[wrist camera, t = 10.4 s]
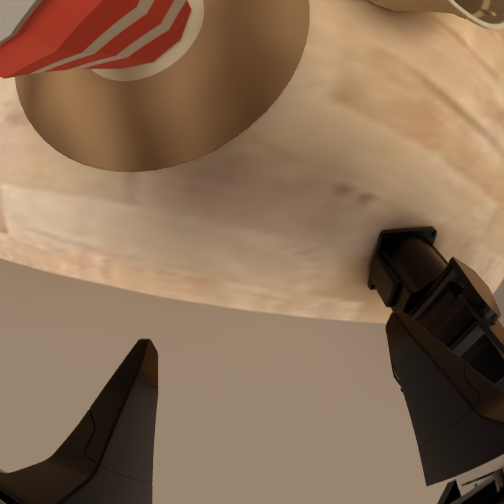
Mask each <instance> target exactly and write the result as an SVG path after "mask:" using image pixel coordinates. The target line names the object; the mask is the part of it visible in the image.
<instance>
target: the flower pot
mask: <svg viewBox="0 0 504 504" xmlns="http://www.w3.org/2000/svg"><path fill="white" fill-rule="evenodd" d="M369 1H370V2H372V3H374V4H375V5H377V6H380V7H384V8H387V9H390V10H394V11H429V12H442V13H451V14H455V15H457V16H459V17H462V18H464V19H468V20H470V21H471V22H473V23H475V24H477V25H479V26H481V27H484V28H487V29H492V30H501V29H504V0H369Z"/></svg>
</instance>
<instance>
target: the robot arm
mask: <svg viewBox="0 0 504 504" xmlns="http://www.w3.org/2000/svg"><path fill="white" fill-rule="evenodd" d="M436 234H437V231H436V230H435V229H434V228H433V227H428V228H414V229H399V230H386V231H383V232H382V233H381V234H380V237H379V241H378V246H377V250H376V254H375V256H374V259H373V263H372V267H371V271H370V275H369V281H368V287H369V289H370V290H374V289H377V291H378V293H379V295H380V297H381V298H382V300H383V302H384V304H385V306H386V307H391V309H392V311H393V312H392V313H391V315H390V317H389V320H388V322H387V324H386V333H387V339H388V346H389V352H390V358H391V365H392V371H393V375H394V378H395V379H396V380H397V382H398V383H399V385H400V386H401V391H402V392H403V394H404V397H405V400H406V403H407V407H408V410H409V413H410V417H411V421H412V425H413V428H414V432H415V436H416V440H417V444H418V447H419V448H418V449H419V453H420V457H421V462H422V466H423V471H424V476H425V481H426V485H427V486H429V485H432V484H435V483H438V482H441V481H444V480H447V479H450V478H453V477H456V478H455V479H454V480H452V481H450V482H449V483H447V486H446V488H445V490H444V492H443V494H442V496H441V498H440V499H439V502H438V504H504V327H503V326H502V325H501V323H500V322H499V320H498V319H499V318H500V317H501V313H500V311H499V308H498V306H497V304H496V302H495V300H494V297H493V295H492V293H491V291H490V289H489V287H488V286H487V285H486V284H485V282H484V281H483V280H482V279H481V278H480V277H479V276H478V274H477V273H476V272H475V271H474V270H472V269H471V268H469V267H468V266H467V265H465V264H464V263H462V262H461V261H459V260H458V259H456V258H455V257H452V258H451V259H450V261H449V263H448V262H447V261H446V260H445V258H444V257H443V256H442V255H441V254H440V253H439V251H438V250H437V249H436V248H435V247H434V246H433V243H434V240H435V237H436ZM385 236H386V237H385ZM384 237H385V238H384ZM157 400H158V353H157V350H156V348H155V346H154V345H153V343H152V341H151V340H150V339H139V340H138V341H137V343H136V344H135V345H134V347H133V348H132V350H131V351H130V352H129V354H128V355H127V356H126V358H125V359H124V361H123V362H122V363H121V365H120V366H119V367H118V369H117V370H116V371H115V373H114V374H113V376H112V377H111V378H110V380H109V381H108V383H107V384H106V385H105V387H104V389H103V390H102V391H101V393H100V394H99V396H98V397H97V398H96V400H95V401H94V403H93V404H92V406H91V407H90V409H89V410H88V411H87V413H86V414H85V416H84V417H83V418H82V420H81V421H80V423H79V424H78V425H77V427H76V428H75V429H74V430H73V432H72V433H71V434H70V435H69V437H68V438H67V439H66V440H65V441H64V442H63V444H62V445H61V446H60V447H59V448H58V449H57V451H56V452H55V453H54V454H53V455H52V456H51V457H49V458H48V459H46V460H45V461H42V462H40V463H37V464H35V465H32V466H29V467H26V468H24V469H20V470H18V471H15V472H11V473H7V472H5V471H3V470H1V469H0V504H152V477H153V476H152V475H153V452H154V435H155V422H156V409H157Z"/></svg>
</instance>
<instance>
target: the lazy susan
mask: <svg viewBox="0 0 504 504" xmlns="http://www.w3.org/2000/svg"><path fill="white" fill-rule="evenodd" d="M188 3H189V5H190V7H191V13H190V16H189V18H188V21H187V24H186V26H185V29H184V32H183V35H182V38H181V40H180V41H178V42H177V43H176V44H174V45H173V46H172V47H171V48H169V49H168V50H167V51H166V52H165V53H163V54H162V55H161V56H160V57H159V58H158V59H156V60H155V61H154V62H152V63H146V64H141V65H136V66H132V67H127V68H123V69H77V70H62V71H51V72H42V73H34V74H28V75H21V76H16V77H15V82H16V88H17V93H18V96H19V99H20V103H21V105H22V108H23V110H24V112H25V114H26V116H27V118H28V120H29V121H30V123H31V124H32V126H33V127H34V129H35V130H36V131H37V132H38V134H39V135H40V136H41V137H42V138H43V139H44V140H45V141H46V142H47V143H48V144H49V145H51V146H52V147H53V148H54V149H55V150H57V151H58V152H60V153H62V154H63V155H65V156H67V157H68V158H70V159H72V160H74V161H77V162H79V163H81V164H84V165H87V166H91V167H94V168H98V169H103V170H110V171H117V172H140V171H149V170H157V169H161V168H166V167H171V166H175V165H178V164H181V163H184V162H187V161H190V160H193V159H195V158H197V157H200V156H202V155H204V154H206V153H208V152H211V151H213V150H215V149H216V148H218V147H220V146H221V145H223V144H225V143H227V142H228V141H230V140H232V139H233V138H234V137H236V136H237V135H238V134H240V133H241V132H243V131H244V130H245V129H247V128H248V127H249V126H250V125H251V124H253V123H254V122H255V121H256V120H257V119H258V118H259V117H260V116H261V115H262V114H264V113H265V112H266V110H267V109H268V108H269V107H270V106H271V105H272V104H273V102H274V101H275V100H276V99H277V98H278V97H279V95H280V94H281V92H282V91H283V89H284V88H285V87H286V85H287V84H288V82H289V81H290V79H291V77H292V75H293V73H294V71H295V69H296V67H297V66H298V64H299V62H300V59H301V56H302V53H303V50H304V47H305V44H306V40H307V34H308V28H309V1H308V0H188Z"/></svg>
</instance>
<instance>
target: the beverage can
mask: <svg viewBox="0 0 504 504" xmlns="http://www.w3.org/2000/svg"><path fill="white" fill-rule="evenodd" d="M190 13H191V7H190V5H189V3H188V0H0V77H2V78H4V79H5V78H10V77H16V76H21V75H28V74H34V73H42V72H51V71H62V70H77V69H123V68H127V67H132V66H136V65H141V64H146V63H152V62H154V61H155V60H156V59H158V58H159V57H160V56H161V55H162V54H163V53H165V52H166V51H167V50H168V49H169V48H171V47H172V46H173V45H174V44H176V43H177V42H178V41H180V40H181V38H182V35H183V32H184V29H185V26H186V24H187V21H188V18H189V16H190Z"/></svg>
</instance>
